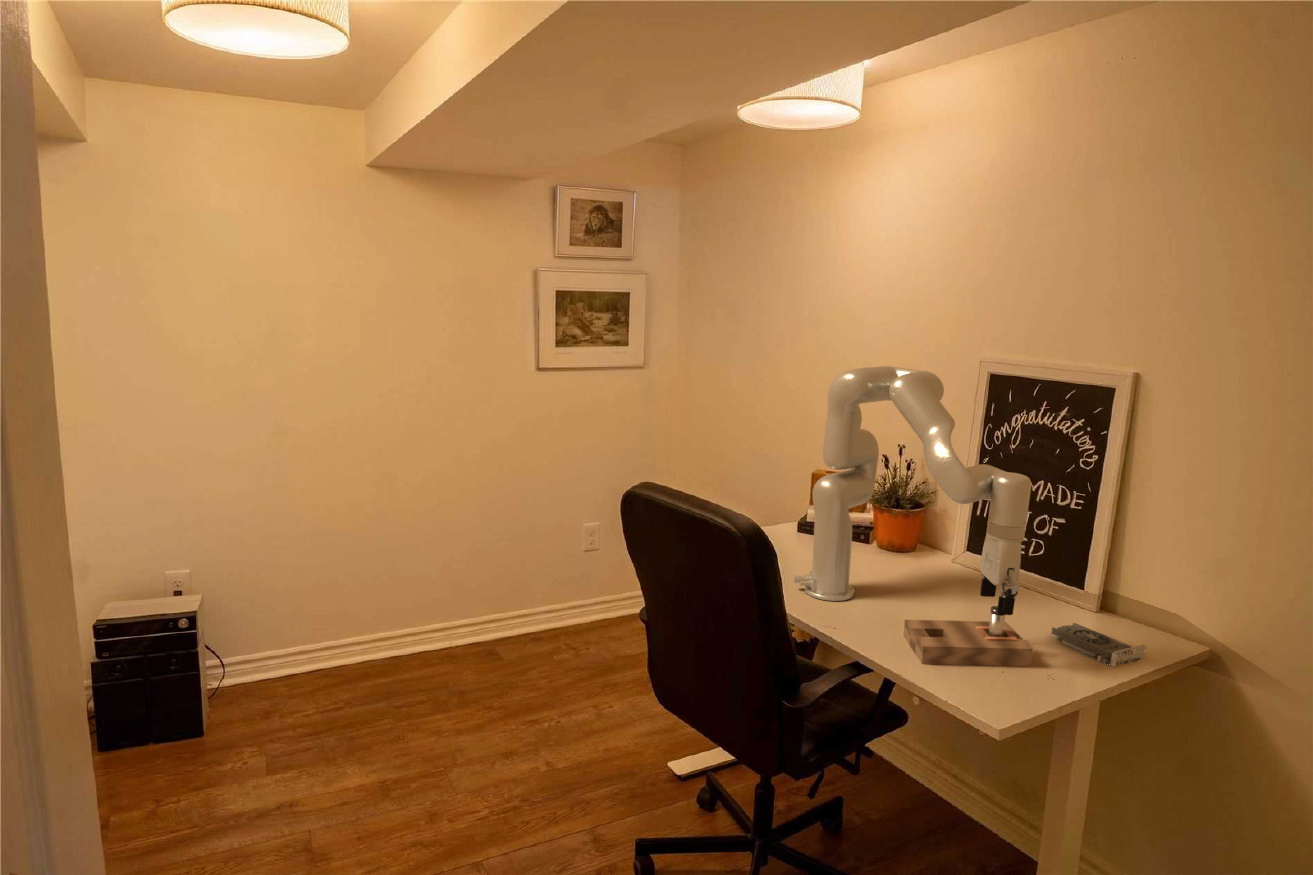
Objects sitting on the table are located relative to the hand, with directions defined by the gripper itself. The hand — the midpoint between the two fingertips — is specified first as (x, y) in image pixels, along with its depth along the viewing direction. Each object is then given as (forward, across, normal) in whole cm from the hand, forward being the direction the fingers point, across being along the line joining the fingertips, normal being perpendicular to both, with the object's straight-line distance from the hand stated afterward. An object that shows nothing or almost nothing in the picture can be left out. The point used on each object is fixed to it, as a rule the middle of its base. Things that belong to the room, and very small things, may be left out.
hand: (995, 605), depth 181 cm
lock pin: (+11, +1, +1) cm, 11 cm away
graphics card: (+11, -2, +25) cm, 27 cm away
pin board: (+11, +1, -6) cm, 12 cm away
